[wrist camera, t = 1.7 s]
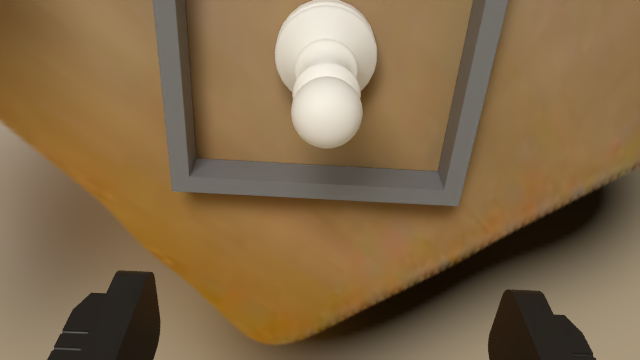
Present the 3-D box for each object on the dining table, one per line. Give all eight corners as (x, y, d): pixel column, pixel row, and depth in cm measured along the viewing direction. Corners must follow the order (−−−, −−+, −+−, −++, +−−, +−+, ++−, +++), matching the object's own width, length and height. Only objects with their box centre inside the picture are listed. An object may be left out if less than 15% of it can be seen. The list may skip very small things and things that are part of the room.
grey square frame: (521, -120, 24) (536, -116, 22) (451, 186, 33) (458, 206, 31) (151, -146, 23) (138, -144, 22) (180, 172, 32) (172, 191, 30)
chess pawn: (307, 108, 30) (302, 203, 22) (257, 28, 28) (233, 104, 20) (391, 65, 29) (416, 151, 21) (346, -23, 26) (355, 38, 19)
